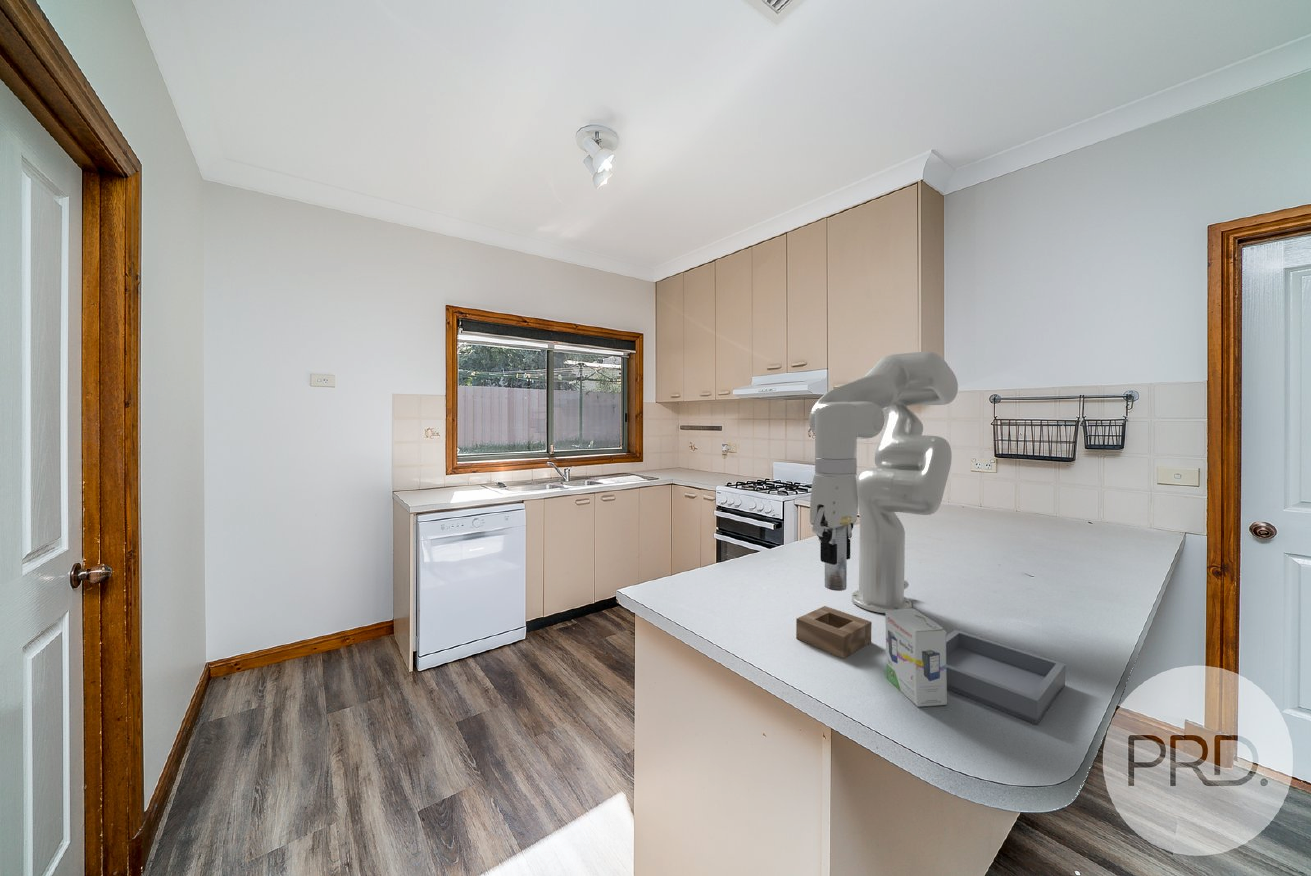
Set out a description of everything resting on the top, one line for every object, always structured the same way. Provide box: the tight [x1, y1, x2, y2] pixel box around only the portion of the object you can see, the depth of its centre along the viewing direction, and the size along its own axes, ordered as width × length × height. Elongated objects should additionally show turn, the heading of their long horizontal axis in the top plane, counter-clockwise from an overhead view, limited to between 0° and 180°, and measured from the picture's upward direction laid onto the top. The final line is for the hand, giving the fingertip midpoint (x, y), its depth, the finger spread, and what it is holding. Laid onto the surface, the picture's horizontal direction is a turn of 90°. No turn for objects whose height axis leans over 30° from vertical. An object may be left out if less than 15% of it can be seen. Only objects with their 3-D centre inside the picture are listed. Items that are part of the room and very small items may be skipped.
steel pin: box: [824, 517, 851, 592], centre depth 92 cm, size 6×6×14 cm
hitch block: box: [795, 605, 872, 659], centre depth 92 cm, size 10×10×4 cm
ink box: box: [884, 608, 948, 707], centre depth 75 cm, size 9×5×12 cm, turn 5°
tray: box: [946, 629, 1067, 726], centre depth 78 cm, size 16×16×4 cm
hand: (835, 559), depth 92 cm, fingers closed on steel pin, 4 cm apart
